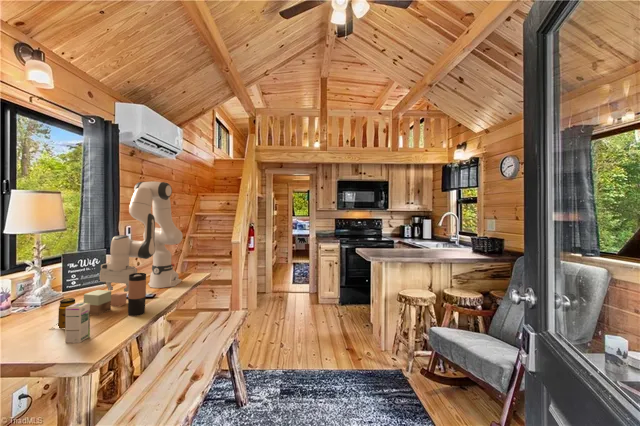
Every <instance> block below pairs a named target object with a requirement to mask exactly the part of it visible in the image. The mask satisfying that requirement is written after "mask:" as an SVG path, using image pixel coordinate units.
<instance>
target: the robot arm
mask: <svg viewBox="0 0 640 426" xmlns="http://www.w3.org/2000/svg"><path fill="white" fill-rule="evenodd" d="M172 193H173V189H172V186H171V184H170V183H168V182H165V181H162V182H161V181H154V180H153V181H152V180H151V181H138V182H137V183H136V184H135V185H134V187H133V194H132V196H131V200H130V203H129V206H128V212H129V215H130V216H131V218H133V219H134V220H136V221H138V222H140V223H142V224H143V226H144V231H143V234H142V235H143V236H142V237H143V240H133V239H131V238H130V237H129V236H128V235H125V234H120V235H115V236H112V237H113V238H112V240H111V242H110V251H109V253H110V259H109V262H107V263H103V264H101V265H100V270H99V281H100V282H101V283H102V282H103V283H105V285H106V287H107V291H113V290H114V289H113V288H114V286H112V283H114V284H125V286H126V287H125V288H123V293H128V289H129V275H130V274H134V273H138V269H137V267H135V265H134V266H133V265H131V266H130V258H135V259H137V258H139V259H143V260H147V259H150V258H151V257H152V265H151V270H152V271H151V272H150V277H149V282H148V283H147V285H148V286H149V287H150V288H152V289H153V288H154V289H157V288H158V289H160V288H161V289H163V288H170V287H171V288H172V287H176V286H177V285H178V284H180V283H181V281H182V282H183V279H181V278H179V273H178V272H177V271H176V270H174V269H173V268H174V267H175V266H176V264H175V263H172V252H171V250H169V249H167V247H166V245H168V246H172V245H178V244H180V243H181V242H182V241H183V237H184V236H183V235H184V234H183V232H182V230H180V229H179V228H178V227H177V226H176V225H175V223H174V221H173V217H172V216H173V215H172V204H171V196H172ZM156 224H157V225H159V227H156Z"/></svg>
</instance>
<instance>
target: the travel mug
mask: <svg viewBox="0 0 640 426" xmlns="http://www.w3.org/2000/svg"><path fill="white" fill-rule="evenodd" d="M127 293H128V294H127V315H128V316H129V317H137V316H139V317H140V316H142V315H144V314H145V313H146V312H145V311H146V296H147V295H146V294H147V273H145V272H137V273H134V274H130V275H129V289H128V292H127Z"/></svg>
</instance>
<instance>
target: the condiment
mask: <svg viewBox="0 0 640 426" xmlns="http://www.w3.org/2000/svg"><path fill="white" fill-rule="evenodd" d="M75 303H76V299H75V298H73V297H68V298H62V299H61V300H60V301H59V306H58V317H57V318H58V319H57V320H58V321H57V322H58V323H56V324H55V325H57V324H58V326H59V328H65V322H66V320H65V319H66V307H69V306H71V305H73V304H75ZM50 328H51V329H50V330H56V329H55V328H53V326H52V327H50ZM52 328H53V329H52Z"/></svg>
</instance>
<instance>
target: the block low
mask: <svg viewBox="0 0 640 426" xmlns="http://www.w3.org/2000/svg"><path fill="white" fill-rule="evenodd" d="M111 308H112V306H111V301H109V302H106V303H104V304H101V305H90V316H91V315H92V316H99V315H102V314H104V313H107V312H110V311H111Z"/></svg>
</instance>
